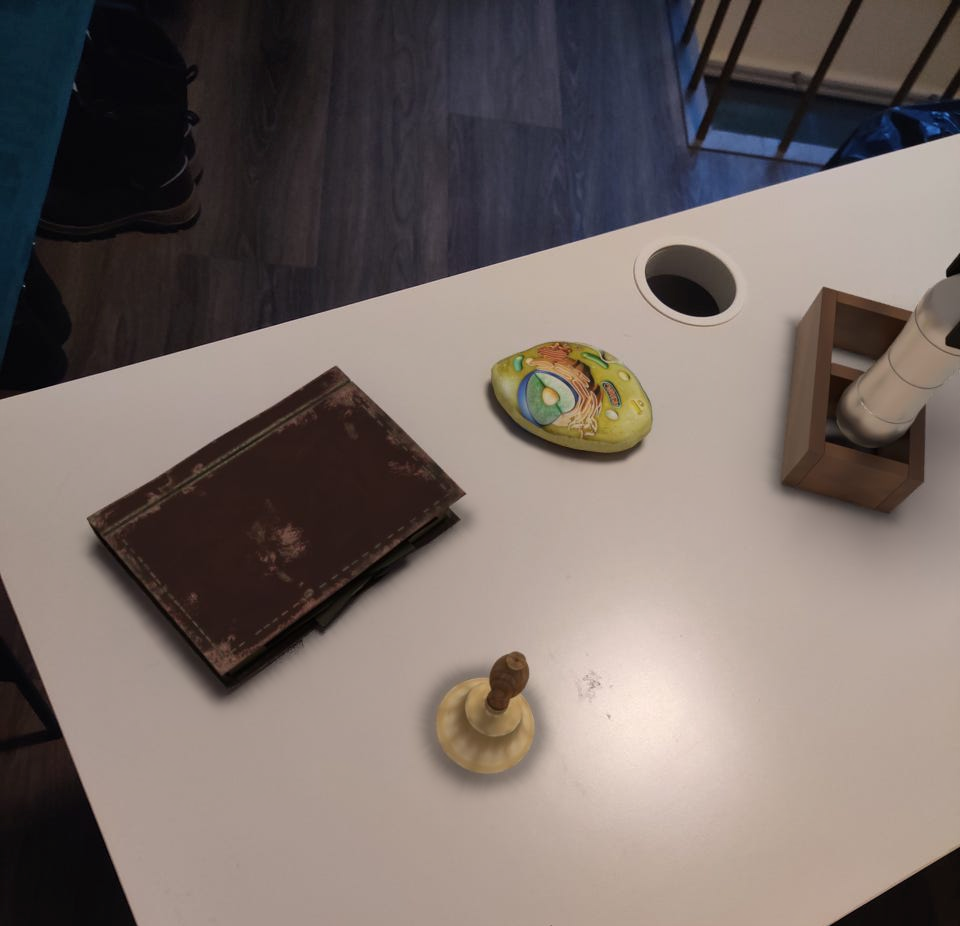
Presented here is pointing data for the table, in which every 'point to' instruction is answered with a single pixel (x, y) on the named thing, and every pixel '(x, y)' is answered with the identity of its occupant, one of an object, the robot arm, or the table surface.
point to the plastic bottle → (904, 372)
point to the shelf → (817, 397)
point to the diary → (278, 523)
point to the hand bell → (488, 718)
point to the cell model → (574, 396)
